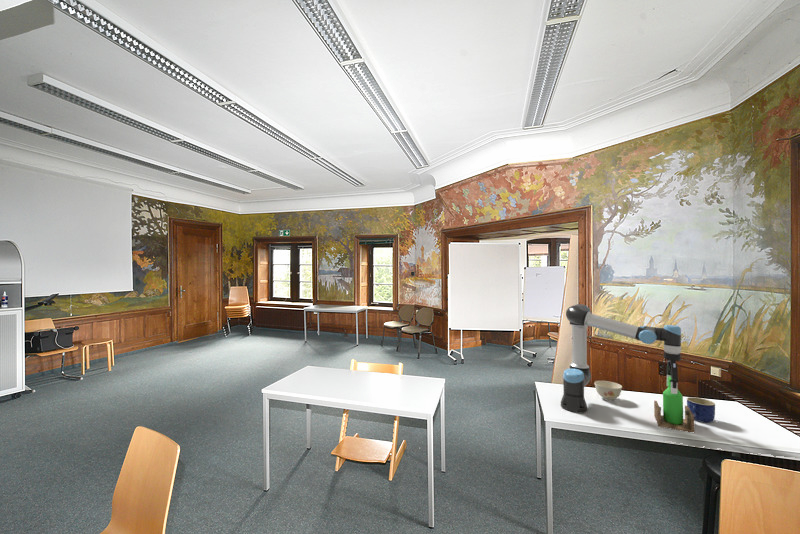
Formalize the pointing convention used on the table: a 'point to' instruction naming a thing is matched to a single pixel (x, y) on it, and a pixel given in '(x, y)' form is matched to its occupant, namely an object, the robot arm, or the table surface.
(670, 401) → the bottle
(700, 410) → the planter
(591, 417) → the table surface
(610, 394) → the bowl
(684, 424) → the holder
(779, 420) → the table surface
